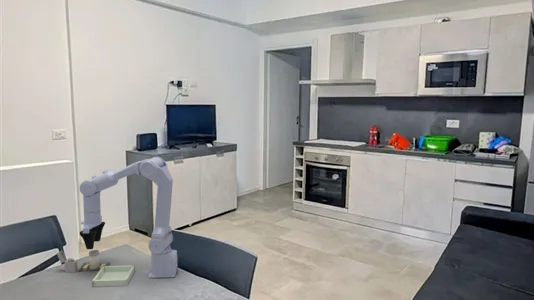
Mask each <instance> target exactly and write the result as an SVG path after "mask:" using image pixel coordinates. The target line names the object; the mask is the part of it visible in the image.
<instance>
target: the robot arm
mask: <svg viewBox="0 0 534 300" xmlns="http://www.w3.org/2000/svg"><path fill="white" fill-rule="evenodd" d="M134 174H136V175H138V176H141V175H142V177H144V178H146V179H148V180H150V181H151V182H153V183H154V184H155V185H156V186H157V194H156V203H155V216H154V217H155V219H154V227H153V230H152V233H151V238H150V239H149V242H148V246H147V247H148V249H149V251H150V258H151V259H150V260H151V261H150V263H151V265H150V266H151V270H150V273H149V275H148V278H149V279H152V278H153V279H155V278H159V279H161V278H175V277H176V274H177V270H178V251H177V250H176V249H172V247H171V244H172V242H173V241H174V235H173V233H172V226H170V222H171V221H170V219H171V208H172V193H173V183H174V180H173V177H172V175H171V172H170V171H169V168H168V163H167V162H166V160H164V159H163V158H162V157H160V156H154V157H151V158H146V159H142V160H139V161H137V162H133V163H131V164H129V165H127V166H125V167H123V168H120V169H119V170H116V171H114V170H107V169H106V170H104V171H102V173H101V174H98V175H94V176H91V178H90V179H87V180H86V179H85V180H83V181H82V182H81V183H80V185H79V191H80V193H81V194H82V198H83V199H82V201H83V202H82V203H83V220H82V221H81V222H80V224H81V225H83V227H82V230H80V231H79V236H80V237H81V238H82V239H83V242H84V245H85V248H86V250H94V247H95V246H94V245H95V242H100V241H101V239H102V233H103V230H104V227H105V225H106V222H105V221H103V219H102V217H103V216H102V213H101V211H102V210H101V209H102V208H101V192H102V191H104V190H106V189H109V188H112V187H114V186H116V185H117V184H118V183H119V180H121V179H124V178H126V177H128V176H132V175H134Z"/></svg>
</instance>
